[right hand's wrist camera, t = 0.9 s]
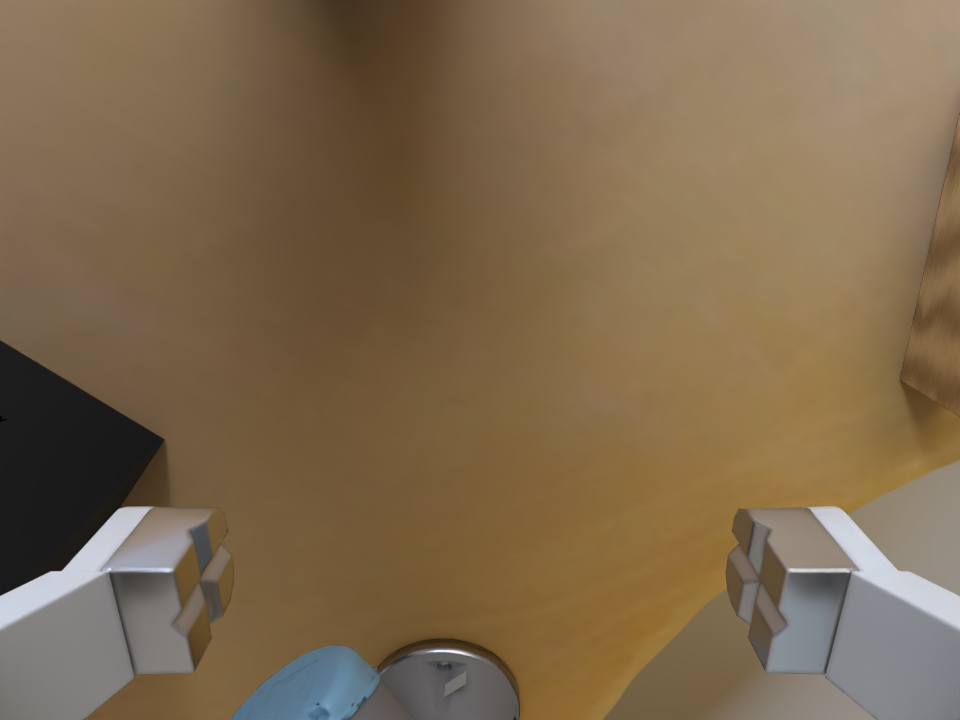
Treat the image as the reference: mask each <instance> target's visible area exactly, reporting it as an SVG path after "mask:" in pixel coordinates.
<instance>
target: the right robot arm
mask: <svg viewBox="0 0 960 720" xmlns="http://www.w3.org/2000/svg"><path fill="white" fill-rule="evenodd" d="M227 532H228V528H227V523H226V518H225V514H224V512H223V511H222V510H220V509H219V508H200V507H153V506H138V507H123V508H120V509H118V510H117V511H116V512H115V513H114V514H113V515H112V516H111V517H110V518H109V520H108V521H107V522H106V523H105V524H104V525H103V526H102V527H101V528H100V529H99V531H98V532H97V533H96V534H95V535H94V536H93V537H92V538H91V539H90V540H89V541H88V543H87V544H86V545H85V546H84V547H83V548H82V549H81V550H80V551H79V552H78V554H77V555H76V556H75V557H74V558H73V559H72V560H71V561H70V562H69V563H68V565H67V566H66V567H65V568H64V569H63V570H62V571H51V572H49V573H47V574H44V575H42V576H40V577H38V578H36V579H34V580H32V581H30V582H28V583H26V584H24V585H22V586H20V587H18V588H16V589H14V590H12V591H10V592H8V593H6V594H4V595H1V596H0V720H84V719H85V718H87V717H88V716H89V715H90V714H91V713H93V712H94V711H95V710H96V709H97V708H99V707H100V706H101V705H102V704H103V703H105V702H106V701H107V700H108V699H110V698H111V697H112V696H113V695H114V694H116V693H117V692H118V691H119V690H120V689H122V688H123V687H124V686H125V685H126V684H128V683H129V682H130V681H131V680H132V679H134V678H135V676H134V674H168V673H194V672H195V670H196V668H197V666H198V664H199V662H200V660H201V658H202V656H203V654H204V652H205V650H206V648H207V646H208V644H209V642H210V640H211V638H212V636H211V630H210V624H212V623H213V622H215V621H216V620H218V619H219V618H220V617H222V616H223V615H224V612H225V610H226V608H227V606H228V604H229V602H230V598H231V593H232V589H233V584H234V565H233V558H232V554H231V553H230V552H229V551H228V550H227V549H226V548H225V547H224V546H223V545H222V544H221V542H222V541H223V539H224V537H225V536H226V534H227ZM732 532H733V534H734V536H735V537H736V539H737V541H738V542H739V544H738V545H737V546H736V547H735V548H734V549H733V550H732V551H731V552H730V553H729V554H728V559H727V567H726V581H727V591H728V594H729V598H730V601H731V604H732V606H733V608H734V610H735V612H736V615H737V616H738V617H740V618H741V619H743V620H744V621H745V622H747V623H748V624H750V630H749V636H748V638H749V640H750V642H751V644H752V646H753V648H754V650H755V652H756V654H757V656H758V658H759V660H760V662H761V664H762V666H763V668H764V669H765V671H766V673H791V674H826V675H825V678H827V679H828V680H829V681H830V682H832V683H833V684H834V685H835V686H836V687H838V688H839V689H840V690H841V691H842V692H844V693H845V694H846V695H847V696H848V697H850V698H851V699H852V700H853V701H854V702H856V703H857V704H858V705H859V706H860V707H862V708H863V709H864V710H865V711H867V712H868V713H869V714H870V715H871V716H872V717H874V718H875V719H876V720H960V596H958V595H956V594H954V593H952V592H950V591H948V590H946V589H944V588H942V587H940V586H938V585H936V584H934V583H932V582H930V581H928V580H926V579H924V578H922V577H920V576H918V575H916V574H913V573H911V572H909V571H898V570H897V569H896V568H895V567H894V566H893V565H892V563H891V562H890V561H889V560H888V559H887V558H886V557H885V556H884V555H883V554H882V552H881V551H880V550H879V549H878V548H877V547H876V546H875V545H874V544H873V543H872V541H871V540H870V539H869V538H868V537H867V536H866V535H865V534H864V533H863V532H862V530H861V529H860V528H859V527H858V526H857V525H856V524H855V523H854V522H853V521H852V520H851V518H850V517H849V516H848V515H847V514H846V513H845V512H844V511H843V510H842V509H840V508H838V507H836V506H821V507H802V508H756V509H738V511H737V513H736V515H735V517H734V522H733V528H732Z"/></svg>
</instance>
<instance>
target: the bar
mask: <svg viewBox="0 0 960 720" xmlns="http://www.w3.org/2000/svg"><path fill="white" fill-rule="evenodd" d="M900 380H901V381H903V382H904V383H906V384H907V385H909V386H911V387H912V388H914V389H915V390H917V391H919V392H920V393H922V394H923V395H925V396H927V397H928V398H930V399H932V400H933V401H935V402H936V403H938V404H940V405H941V406H943V407H944V408H946V409H948V410H949V411H951V412H952V413H954V414H956V415H957V416H959V417H960V115H959V119H958V123H957V128H956V132H955V137H954V141H953V146H952V150H951V155H950V159H949V163H948V168H947V172H946V177H945V181H944V186H943V190H942V195H941V199H940V203H939V208H938V212H937V217H936V221H935V226H934V230H933V235H932V239H931V243H930V248H929V252H928V257H927V261H926V266H925V270H924V275H923V279H922V284H921V288H920V292H919V297H918V301H917V306H916V310H915V315H914V319H913V324H912V328H911V332H910V337H909V341H908V346H907V350H906V355H905V359H904V364H903V368H902V372H901V377H900Z"/></svg>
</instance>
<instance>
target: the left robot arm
mask: <svg viewBox="0 0 960 720" xmlns="http://www.w3.org/2000/svg"><path fill="white" fill-rule="evenodd" d="M519 717H520V702H519V690H518V686H517V682H516V680H515V677H514V676H513V674H512V672H511V671H510V669H509V668H508V667H507V665H506V664H505V663H504V662H503V661H502V660H501V659H500V658H498V657H497V656H496V655H495V654H493V653H492V652H490V651H488V650H486V649H484V648H483V647H480V646H478V645H475V644H472V643H469V642H465V641H461V640H454V639H431V640H425V641H420V642H416V643H413V644H410V645H408V646H405V647H403V648H401V649H399V650H397V651H396V652H394V653H393V654H391V655H390V656H389V657H388V658H386V659H385V660H384V661H383V662H382V663H381V665H380V666H379V667H378V668H377V669H376V668H374V667H371V666H370V665H369V664H368V663H367V662H366V661H365V660H364V659H363V658H362V657H361V656H360V654H359V653H358V652H356V651H355V650H354V649H352V648H350V647H346V646H339V645H329V646H324V647H320V648H317V649H314V650H312V651H310V652H308V653H305V654H303V655H302V656H300V657H298V658H296V659H295V660H293V661H291V662H290V663H288V664H287V665H285V666H284V667H283V668H281V669H280V670H278V671H277V672H276V673H275V674H273V675H272V676H271V677H270V678H268V679H267V680H266V681H265V682H264V683H263V684H262V685H261V686H260V687H259V688H257V690H256V691H255V692H254V693H253V694H251V695H250V696H249V697H248V699H247V700H246V701H245V702H244V703H243V704H242V705H241V706H240V708H239V709H238V710H237V711H236V713H235V714H234V715H233V716H232V718H231V719H230V720H519Z"/></svg>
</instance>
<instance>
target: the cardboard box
mask: <svg viewBox="0 0 960 720" xmlns="http://www.w3.org/2000/svg"><path fill="white" fill-rule="evenodd" d="M163 441H164V439H162V438H161V437H159V436H157V435H156V434H154V433H152V432H151V431H149V430H147V429H146V428H144V427H142V426H141V425H139V424H138V423H136V422H134V421H133V420H131V419H129V418H128V417H126V416H124V415H123V414H121V413H119V412H118V411H116V410H114V409H113V408H111V407H109V406H108V405H106V404H104V403H103V402H101V401H99V400H98V399H96V398H94V397H93V396H91V395H90V394H88V393H86V392H85V391H83V390H81V389H80V388H78V387H76V386H75V385H73V384H71V383H70V382H68V381H66V380H65V379H63V378H61V377H60V376H58V375H56V374H55V373H53V372H51V371H50V370H48V369H46V368H45V367H43V366H42V365H40V364H38V363H37V362H35V361H33V360H32V359H30V358H28V357H27V356H25V355H23V354H22V353H20V352H18V351H17V350H15V349H13V348H12V347H10V346H8V345H7V344H5V343H3V342H2V341H0V596H1V595H4V594H6V593H8V592H10V591H12V590H14V589H16V588H18V587H20V586H22V585H24V584H26V583H28V582H30V581H32V580H34V579H36V578H38V577H40V576H42V575H44V574H47V573H49V572H51V571H62V570H63V569H64V568H65V567H66V566H67V565H68V563H69V562H70V561H71V560H72V559H73V558H74V557H75V556H76V555H77V554H78V552H79V551H80V550H81V549H82V548H83V547H84V546H85V545H86V544H87V543H88V541H89V540H90V539H91V538H92V537H93V536H94V535H95V534H96V533H97V532H98V531H99V529H100V528H101V527H102V526H103V525H104V524H105V523H106V522H107V521H108V520H109V518H110V517H111V516H112V515H113V514H114V513H115V512H116V511H117V510H118V509H119V508H120V506H121V505H122V503H123V502H124V500H125V499H126V497H127V496H128V494H129V493H130V491H131V490H132V488H133V487H134V485H135V483H136V482H137V480H138V479H139V477H140V476H141V474H142V473H143V471H144V470H145V468H146V467H147V465H148V464H149V462H150V461H151V459H152V458H153V456H154V455H155V453H156V452H157V450H158V449H159V447H160V446H161V444H162V443H163Z"/></svg>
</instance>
